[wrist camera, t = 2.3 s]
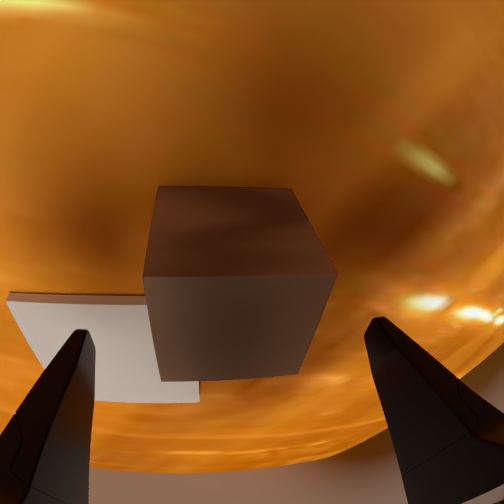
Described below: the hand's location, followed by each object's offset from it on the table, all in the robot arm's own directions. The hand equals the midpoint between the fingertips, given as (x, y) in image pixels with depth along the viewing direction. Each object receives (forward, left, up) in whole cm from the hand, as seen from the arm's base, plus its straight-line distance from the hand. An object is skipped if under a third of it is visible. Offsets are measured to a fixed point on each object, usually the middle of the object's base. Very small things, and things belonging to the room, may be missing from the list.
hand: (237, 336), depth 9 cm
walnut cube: (0, 0, -5) cm, 5 cm away
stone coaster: (+6, +8, -5) cm, 11 cm away
